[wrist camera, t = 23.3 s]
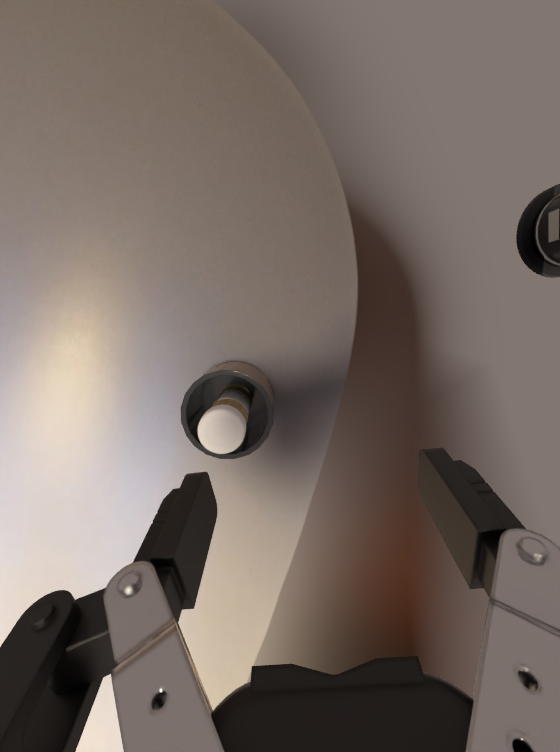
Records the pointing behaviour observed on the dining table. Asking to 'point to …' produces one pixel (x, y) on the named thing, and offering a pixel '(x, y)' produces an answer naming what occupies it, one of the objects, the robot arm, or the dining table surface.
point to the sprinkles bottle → (226, 420)
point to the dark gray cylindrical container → (209, 390)
